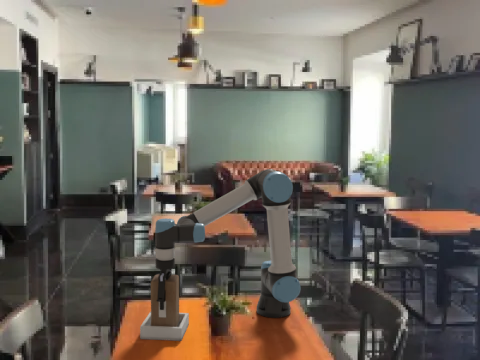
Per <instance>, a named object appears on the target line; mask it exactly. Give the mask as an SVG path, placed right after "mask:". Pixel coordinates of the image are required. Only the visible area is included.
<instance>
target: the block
mask: <svg viewBox="0 0 480 360" xmlns="http://www.w3.org/2000/svg"><path fill="white" fill-rule="evenodd" d="M159 274H160V273H158V274H155V275H154V276H153V277H152V279H151V281H150V312H151V326H165V327H177V325H178V322H179V313H180V276H179V275H178V274H172V275H171V276H170V277H169V279H168V280H165V290H166V298H165V301H166V318H165V317H159V302H157V299H158V276H159Z"/></svg>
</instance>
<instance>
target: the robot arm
mask: <svg viewBox="0 0 480 360" xmlns="http://www.w3.org/2000/svg"><path fill="white" fill-rule="evenodd" d="M293 190H294V185H293V182H292V180H291V178H290V177H289V176H288V175H287V174H285V173H284V172H282V171H278V170H276V169H272V168H269V169H263V170H261V171H259V172H257V173H255V174H254V175H252V176H251V177H249V178H248V179H246V180H245V181H244V183H243V184H242V185H240V186H237V188H235V189H233V190H231V191H229V192H228V193H226V194H224V195H222V196H221V197H219V198H216V199H215V200H213V201H211V202H210V203H208V204H206V205H204V206H202V207H201V208H199V209H197V210H196V211H193V212H191V214H188V215H182V216H181V217H179V218H178V220H177V222H175V220H174V219H173V218H159V219H157V220H156V221H155V232H154V234H155V235H154V237H155V238H154V240H155V244H154V245H155V249H154V250H153V251H154V252H155V268H156V269H157V270H160V272H159V273H158V274H159V276H158V299H157V302H159V317H165V318H166V301H165V298H166V290H165V280H168V279H169V277H170V276H171V275H173V273H172V272H173V270H172V269H174V268H175V267H176V266H175V265H176V261H175V260H176V259H175V257H176V250H175V249H176V247H175V244H182V243H183V244H185V243H187V244H188V243H193V244H194V243H195V244H196V243H203V242H204V241H205V239H206V229H205V227H206V226H208V225H210V224H211V223H213V222H215V221H217V220H218V219H220V218H222V217H224V216H227V214H229V213H231V212H233V211H235V210H237V209H238V208H240V207H242V206H244V205H245V204H248V203H249V202H251V201H252V200H253V201H257V200H259V199H261V203H262V207H264V209H266V218H267V230H268V240H269V241H268V242H269V252H270V260H265V261H262V263H261V266H260V271H261V272H260V295H259V299H258V300H257V304H256V313H257V315H259V316H262V317H265V318H272V319H273V318H274V319H278V318H279V319H280V318H284V317H287V316H289V315H290V314H291V305H290V302H293V301H294V300H296V299H297V297H299V295H300V294H301V290H302V289H301V283H300V280H299V279H298V278H297V267H296V266H295V265H294V264H293V260H292V248H291V247H292V246H291V234H290V222H289V212H288V211H289V210H288V207H289V206H290V205H291V204H292V202H291V201H292V200H291V196H292V194H293Z"/></svg>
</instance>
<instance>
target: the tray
mask: <svg viewBox="0 0 480 360" xmlns="http://www.w3.org/2000/svg"><path fill="white" fill-rule="evenodd" d="M189 314H190V313H189V312H179V322H178V325H177V327H165V326H151V311H149V313H148V315H147V316H146V318H145V319H144V320H143V322H142V324H141V325H140V328H139V330H140V331H139V333H140V334H139V337H140V338H139V339H140V340H153V341H154V340H156V341H158V340H159V341H175V342H176V341H178V342H182V340H183V339H184V337H185V335H186V332H187V330H188V327H189V323H190V317H189V316H190V315H189Z"/></svg>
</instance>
